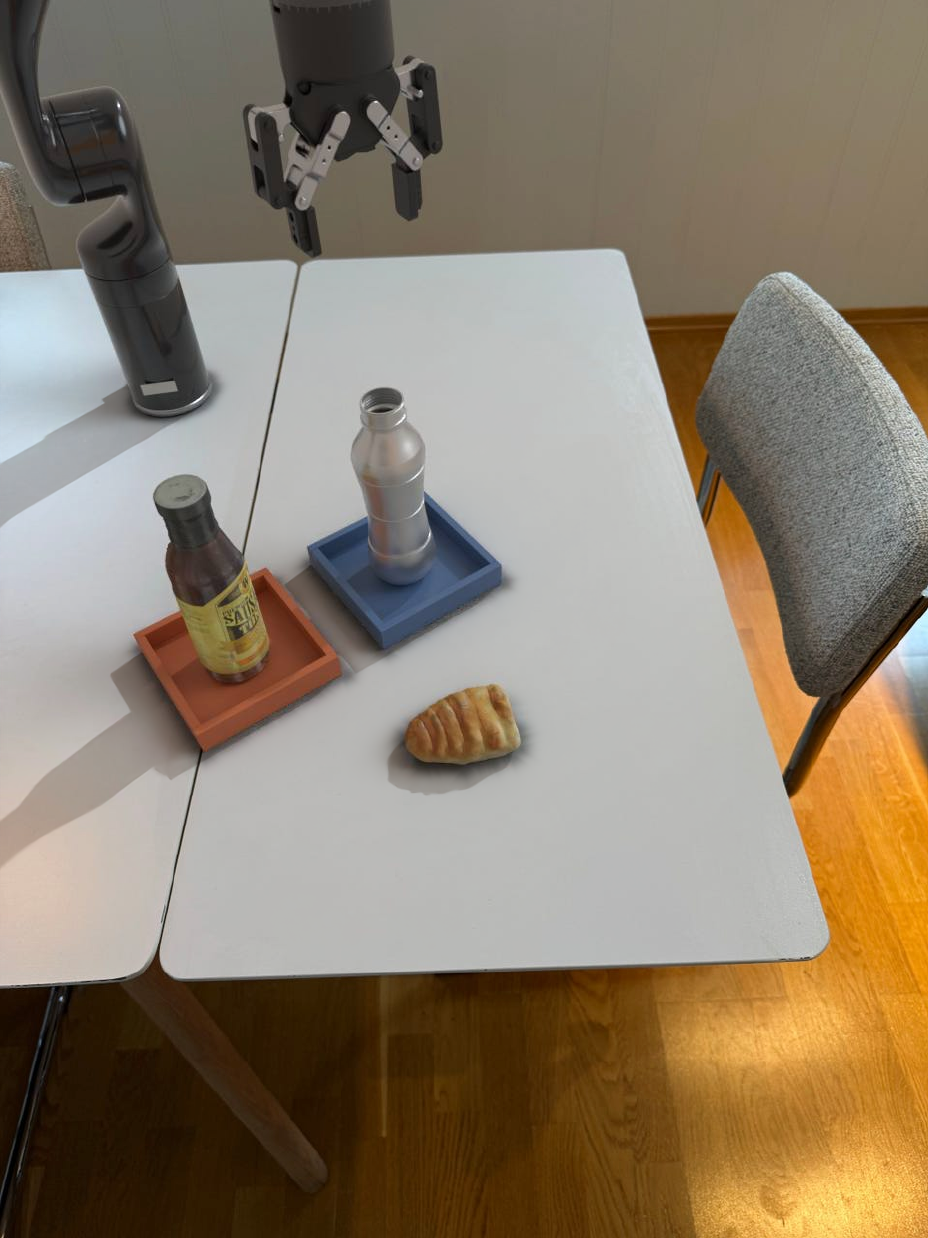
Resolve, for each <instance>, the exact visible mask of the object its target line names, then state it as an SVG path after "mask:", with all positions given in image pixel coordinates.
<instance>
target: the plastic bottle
mask: <svg viewBox="0 0 928 1238" xmlns="http://www.w3.org/2000/svg"><path fill="white" fill-rule="evenodd" d="M359 411H360V414H359V419H360V424H361V427H360V429H359V430H358V432H357V433H356V436H355V437H354V439H353V440H352V444H351V447H350V448H351V449H350V462H351V466H352V468H353V472H354V474H355V477H356V479H357V482H358V485H359V487H360V491H361V494H362V499H363V501H364V505H365V511H366V514H367V516H368V531H369V536H368V559H369V562H370V564H371V567H372V569H373V571H374V573H375V574H376V575H377V576H378V577H379V578H381V579H382V580H384V581H386V582H388V583H390V584H394V585H408V584H411V583H414V582H417V581H419V580H420V579H422V578H423V577H424V576H425V575H426V574H427V573H428V572H429V571H430V569H431V568H432V566H433V564H434V559H435V551H436V545H435V541H434V537H433V534H432V531H431V529H430V526H429V523H428V519H427V514H426V509H425V505H424V491H425V485H424V484H425V483H424V482H425V469H426V457H427V456H426V443H425V442H424V440H423V437H422V436H421V433H420V432H419V431H418V430H417V429H416V427H415V426H414V425H413V424H412V423H411V422H409V421H408V420H407V419H408V412H407V411H408V410H407V408H406V404H405V397H404V394H403V393H402V391H401V390H399V389H397V388H395V387H392V386H378V387H374V388H372V389H368V390H367V391H366V392H365V393H363V394H362V395H361V397H360V399H359Z"/></svg>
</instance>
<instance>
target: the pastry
mask: <svg viewBox="0 0 928 1238" xmlns="http://www.w3.org/2000/svg"><path fill="white" fill-rule="evenodd" d="M404 743H405V747H406V750H408V752H409V753H410V754H411V755H412V756H414V757H415V758H416V759H418V760H419V761H422V762H424V763H437V764H443V763H445V764H455V765H459V766H460V765H461V766H463V765H464V766H465V765H467V764H471V763H477V762H478V763H479V762H483V761H487V760H490V759H496V758H497V759H498V758H502V757H505V756H507V755H508V754H510V753H513V752H514V751H516V750H518V749H519V748H520V747H521V744H522V740H521V735H520V731H519V728H518V726H517V723H516V720H515V716H514V712H513V710H512V706H511V703H510V700H509V697H508V695H507V693H506V692H505V690H504V688H502V687H501V685H499V684H495V683H490V684H489V685H485V686H484V685H483V686H472V687H467V688H464V689H463V690H460V691H456V692H453V693H450V694H448V695H447V696H444V697H442V698H440V699H439V700H437V701H436V702H435V703H433V704H431V705H429V706H428V708H427V709H424V711H422V712H420V713H418V714H417V716H415V717H414V718H412V719H411V720H410V721H409V723H408V726H407V727H406V730H405V734H404Z"/></svg>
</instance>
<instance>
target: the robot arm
mask: <svg viewBox="0 0 928 1238" xmlns="http://www.w3.org/2000/svg"><path fill="white" fill-rule="evenodd" d="M268 2H269V8H270V14H271V19H272V25H273V30H274V36H275V43H276V48H277V53H278V54H277V55H278V60H279V66H280V69H281V70H280V71H281V73H282V77H283V80H284V94H283V98H282V99H283V100H282V102H281V103H278V104H273V105H268V106H263V107H259V106H258V105H256V104H254V103H248V104H247V105H245V106H244V107H243V109H242V119H243V126H244V132H245V137H246V138H245V139H246V145H247V151H248V159H249V165H250V170H251V177H252V183H253V190H254V193H255V195H256V196H257V197H259V198H260V199H261V200H264V201H265V202H266V203H267V204H268V205H269V206H270V207H271V208H272V209H274V210H276V211H277V210H278V211H279V210H282V209H283V208H285V211H286V217H287V222H288V226H289V232H290V239H291V241H292V242H293V244H294V245H295V247H296V248H298V249H299V250H300V251H302V253H305V254H306V255H307V256H308V257H310V258H311V259H315V258H317V257H318V258H319V257H321V256H322V254H323V251H322V244H321V238H320V232H319V225H318V219H317V213H316V209H315V207H314V206H313V205H312V204H311V203H312V201H313V198H314V196H315V194H316V191H317V189H318V186H319V184H320V182H321V181H324V180H325V179H326V177H327V175H328V173H329V171H330V168H331V166H332V163H333V161H335V162H337V163H338V162H339V163H340V162H343V161H345V160H347V159H349V158H351V157H352V156H354V155H355V154H357V153H359V154H360V153H369V152H372V151H374V150H376V146H377V144H378V143H380V144H381V146H383V148H384V149H385V150H386V151H387V152H388V153H389V154H390V155H391V156H392V158H393V159H395V162H393V163H391V164H390V165H391V175H392V186H393V197H394V206H395V207H394V209H395V211H396V213H397V214H398V215H399V216H400V217H401V218H403V219H404V220H406V221H407V222H412V221H414V220H417V219H418V218H419V211H420V210H422V206H423V189H422V187H423V186H422V175H421V168H422V166H423V164H424V160H426V158H428V157H429V156H430V155H438V154H440V152H441V151H442V150H443V146H444V141H443V132H442V124H441V122H442V120H441V111H440V101H439V95H438V94H439V92H438V81H437V74H436V73H437V71H436V68H435V67H434V66H433V65H432V64H429V63H427V62H426V61H423V60H422V59H419V58H418V57H416V56H414V55H411V54H408V55H407V56H405V57H404V59H403V61H402V64H401V66H398V67H394V64H393V62H394V60H395V53H396V52H395V51H396V50H395V41H394V30H393V18H392V7H391V0H268ZM50 3H51V0H0V96H1V99H2V102H3V105H4V107H5V111H6V114H7V117H8V119H9V122H10V126H11V128H12V131H13V134H14V137H15V139H16V142H17V145H18V148H19V150H20V153H21V156H22V159H23V161H24V164H25V166H26V168H27V171H28V173H29V175H30V177H31V180H32V181H33V184H34V186H35V187H36V189H37V190H38V191H39V194H40V195H41V196H42V197H43V198H44V199H45V200H46V202H48V203H49V204H51V206H56V207H71V206H79V205H83V204H86V203H90V202H95V201H99V200H104V199H109V198H113V197H114V198H115V197H116V199H115V200H114V202H113V203H112V204H111V205H110V206H109V207H108V208H107V210H106V211H105V212H103V213H101V214H100V215H99V216H98V217H96V218H95V219H93V220H92V221H91V222H89V223H88V224H87V225H86V226H85V227H84V228H83V229H82V230H80V232H79V234H78V236H77V238H76V241H75V249H76V253H77V258H78V259H79V262H80V264H81V267H82V269H83V272H84V275H85V278H86V280H87V283H88V285H89V288H90V290H91V293H92V295H93V298H94V301H95V303H96V306H97V309H98V310H99V311H98V312H99V313H100V316H101V319H102V321H103V324H104V326H105V330H106V331H107V334H108V336H109V339H110V342H111V345H112V347H113V349H114V352H115V355H116V357H117V360H118V362H119V365H120V368H121V370H122V373H123V375H124V378H125V381H126V384H127V386H128V389H129V392H130V395H131V399H132V402H133V404H134V407H135V408H136V409H137V410H138V411H139V412H141V413H144V414H145V415H149V416H152V417H175V416H178V415H182V414H186V413H188V412H191V411H193V410H195V409H196V408H199V407H200V406H201V405H203V404H204V403H205V401H207V399H208V398H209V397H210V396H211V394H212V391H213V384H212V380H211V377H210V374H209V373H208V370H207V367H206V363H205V360H204V356H203V352H202V350H201V345H200V343H199V339H198V336H197V333H196V330H195V326H194V323H193V320H192V317H191V313H190V310H189V306H188V303H187V300H186V296H185V293H184V290H183V287H182V284H181V283H182V282H181V280H180V276H179V274H178V270H177V267H176V264H175V261H174V257H173V254H172V250H171V247H170V244H169V241H168V238H167V234H166V231H165V228H164V225H163V221H162V219H161V216H160V212H159V208H158V205H157V203H156V199H155V195H154V190H153V187H152V183H151V179H150V175H149V172H148V166H147V162H146V159H145V154H144V149H143V145H142V142H141V138H140V134H139V131H138V127H137V125H136V122H135V119H134V116H133V113H132V111H131V109H130V107H129V105H128V103H127V101H126V100H125V98H124V96H123V95H122V94H121V93H120V92H119V91H118V90H117V89H116V88H114V87H112V86H109V85H102V86H95V87H89V88H84V89H80V90H73V91H68V92H63V93H58V94H53V95H48V96H42V97H40V88H39V86H40V85H39V58H40V57H39V56H40V46H41V39H42V34H43V29H44V25H45V21H46V17H47V14H48V11H49V6H50ZM400 93H401V95H403V97H405V101H406V109H407V117H408V123H409V131H410V136H408V135H407V134H406V133H405V132H404V131H403V129H402V128H401V127H400V125H399V124H397V123H396V121H395V120H394V118H393V117H392V114H393V111H394V108H395V106H396V104H397V102H398V99H399V96H400ZM288 125H290V126H291V127H292V128H293V129H294V130H295V133H294V136H293V139H292V142H291V144H290V147H289V149H288V153H287V162H288V163H287V166H286V168H285V171H284V169H283V161H282V153H281V147H280V144H282V143H284V142H285V139H286V138H285V130H286V128H287V126H288ZM311 149H313V150H314V152H313V155H312V157H310V153H311V152H310V151H311Z"/></svg>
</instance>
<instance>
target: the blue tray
mask: <svg viewBox="0 0 928 1238" xmlns="http://www.w3.org/2000/svg"><path fill="white" fill-rule="evenodd" d="M424 505H425V509H426V514H427V519H428V523H429V526H430V529H431V531H432V534H433V537H434V541H435V545H436V551H435V559H434V564H433V566H432V568H431V569H430V571H429V572H428V573H427V574H426V575H425V576H424V577H423V578H422V579H420V580H419V581H417V582H414V583H411V584H408V585H394V584H390V583H388V582H386V581H384V580H382V579H381V578H379V577H378V576H377V575H376V574H375V573H374V571H373V569H372V567H371V564H370V562H369V559H368V536H369V531H368V515H367V516H364V517H362V518H361V519H359V520H356V521H354V522H353V523H351V524H348V525H347V526H345V527H343V528H341V529H339V530H337V531H334V532H332V533H331V534H329V535H326V536H324V537H323V538H321V539H319V540H317V541H315V542H313V543H311V544H309V545H307V546H306V550H307V554H308V557H309V563H310V565H311V567H312V568H313V569H314V570H315V571H316V572H317V573H318V575H319V576H320V577H321V578H322V579H323V580H324V582H325V583H326V584H327V585H328V586H329V587H330V589H331V590H332V592H334V593H335V595H336V596H337V597H338V598H339V600H340V601H341V602H342V603H343V604H344V605H345V606H346V608H347V609H348V610H349V611H350V612H351V613H352V615H353V617H355V618H356V619H357V620H358V622H359V623H360V624H361V625H362V627H364V629H365V630H366V631H367V632H368V633H369V634H370V636H371V637H372V638H373V639H374V641H376V643H377V644H378V645H379V647H381V648H382V650H383V651H384V650H387V649H388V648H390V647H392V646H394V645H395V644H397V643H399V642H400V641H402V640H404V639H406V638H407V637H409V636H411V635H413V634H414V633H417V632H419V631H420V630H422V629H423V628H425V627H427V626H428V625H430V624H432V623H434V622H436V621H437V620H439V619H441V618H443V617H444V616H446V615H448V614H450V613H451V612H454V611H455V610H457V609H458V608H461V607H462V606H464V605H465V604H467V603H469V602H471V601H473V600H474V599H476V598H479V596H481V595H483V594H486V593H487V592H488V591H490V590H492V589H493V588H495V587H497V586H499V585H501V584H502V583H503V577H502V576H503V573H502V571H503V570H502V569H503V568H502V567H503V565H502V563H500V562H499V560H497V559H496V558H495V557H494V555H492V554H491V553H490V552H489V551H488V550H487V549H486V548H485V547H484V546H483V545H481V543H480V542H479V541H477V540H476V539H475V538H474V537H473V536H472V535H471V534H470V533H469V531H467V530H466V528H464V527H463V526H461V524H460V523H458V522H457V520H455V519H454V517H453V516H451V515H450V514H449V513H448V512H447V511H446V509H444V508H443V507H441V505H440V504H439V503H437V501H436V500H435V499H433V498H432V497H431V496H430V495H429V494H428V493H427V491H425V490H424Z"/></svg>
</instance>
